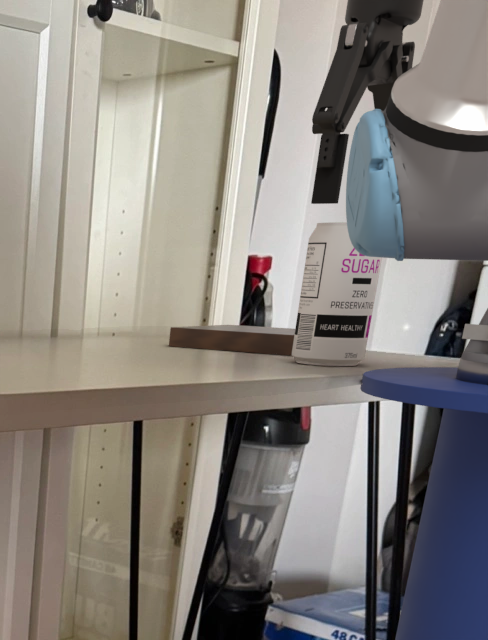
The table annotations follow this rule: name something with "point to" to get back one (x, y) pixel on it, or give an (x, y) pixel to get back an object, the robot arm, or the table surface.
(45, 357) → the table surface
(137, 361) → the table surface
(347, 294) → the supplement can
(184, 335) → the walnut board
